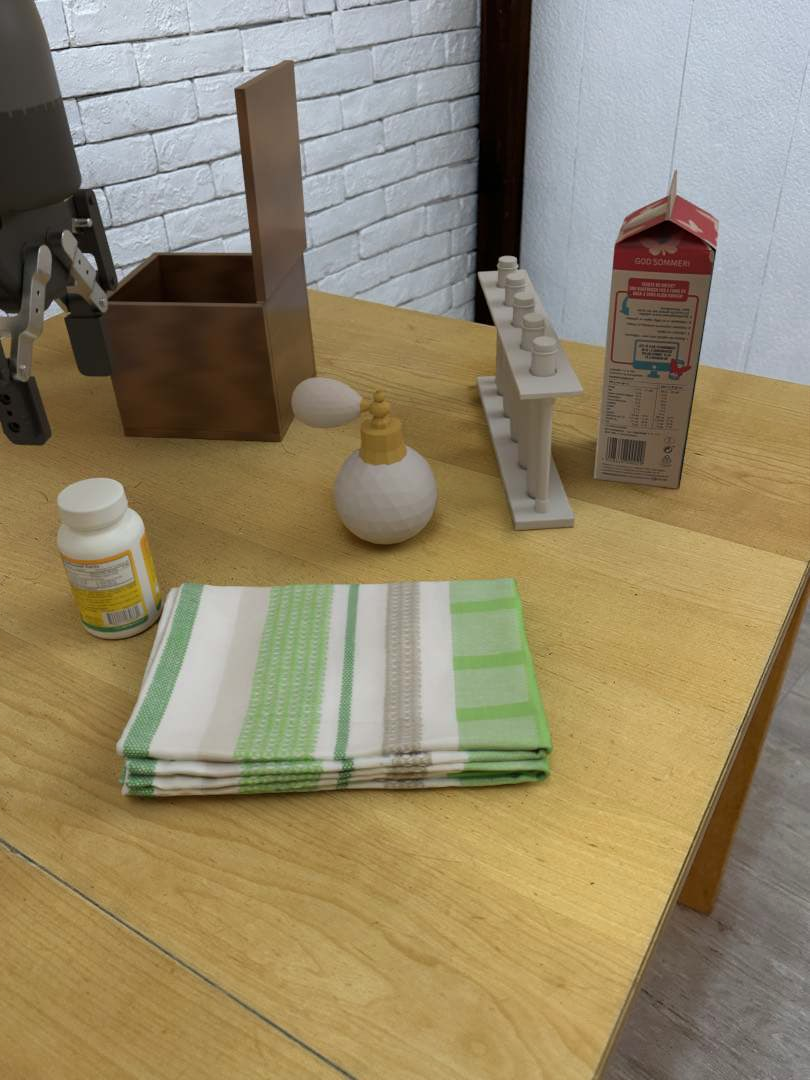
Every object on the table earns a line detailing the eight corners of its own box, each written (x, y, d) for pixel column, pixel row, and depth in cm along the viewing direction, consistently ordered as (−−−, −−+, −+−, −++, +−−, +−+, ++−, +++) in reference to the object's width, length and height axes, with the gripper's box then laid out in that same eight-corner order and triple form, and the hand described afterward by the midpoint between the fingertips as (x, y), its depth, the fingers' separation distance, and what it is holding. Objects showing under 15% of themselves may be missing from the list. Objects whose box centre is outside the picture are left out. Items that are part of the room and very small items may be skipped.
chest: (124, 435, 82) (91, 304, 75) (178, 372, 93) (153, 252, 86) (280, 442, 80) (262, 307, 72) (316, 375, 90) (303, 252, 83)
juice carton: (593, 478, 72) (619, 193, 60) (604, 439, 77) (629, 168, 65) (679, 488, 70) (724, 196, 58) (684, 447, 76) (726, 171, 63)
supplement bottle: (129, 650, 58) (92, 526, 52) (65, 629, 60) (23, 507, 54) (181, 601, 62) (152, 481, 56) (119, 583, 64) (86, 465, 58)
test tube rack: (476, 384, 87) (476, 247, 80) (521, 381, 87) (526, 244, 80) (514, 530, 67) (520, 364, 59) (574, 527, 67) (587, 360, 59)
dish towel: (176, 604, 61) (166, 563, 59) (515, 587, 61) (516, 545, 59) (116, 812, 47) (100, 767, 45) (556, 791, 47) (559, 744, 45)
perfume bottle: (446, 555, 65) (442, 403, 58) (310, 570, 64) (290, 419, 57) (430, 500, 71) (425, 356, 64) (306, 513, 70) (287, 370, 63)
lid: (233, 88, 63) (244, 88, 63) (284, 59, 74) (293, 60, 74) (256, 301, 72) (266, 301, 72) (298, 247, 83) (307, 248, 83)
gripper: (-17, 74, 49) (63, 355, 58) (-197, 128, 37) (-62, 467, 47) (113, 69, 48) (173, 356, 57) (-32, 124, 36) (73, 472, 46)
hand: (67, 406), depth 52 cm, fingers open, 8 cm apart
